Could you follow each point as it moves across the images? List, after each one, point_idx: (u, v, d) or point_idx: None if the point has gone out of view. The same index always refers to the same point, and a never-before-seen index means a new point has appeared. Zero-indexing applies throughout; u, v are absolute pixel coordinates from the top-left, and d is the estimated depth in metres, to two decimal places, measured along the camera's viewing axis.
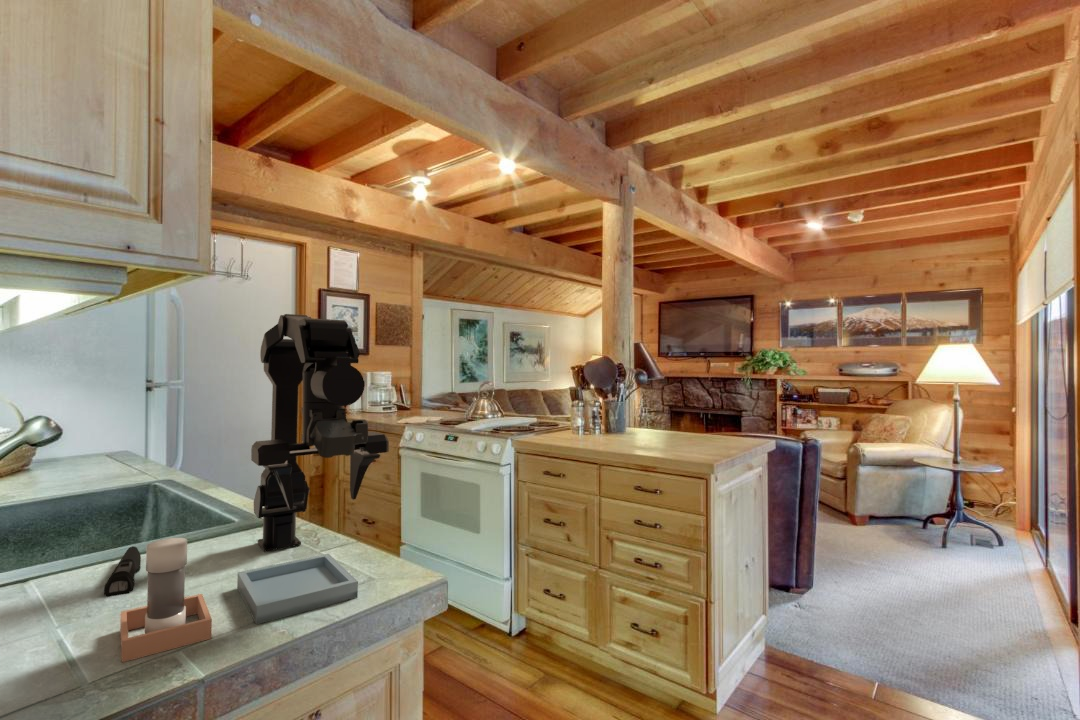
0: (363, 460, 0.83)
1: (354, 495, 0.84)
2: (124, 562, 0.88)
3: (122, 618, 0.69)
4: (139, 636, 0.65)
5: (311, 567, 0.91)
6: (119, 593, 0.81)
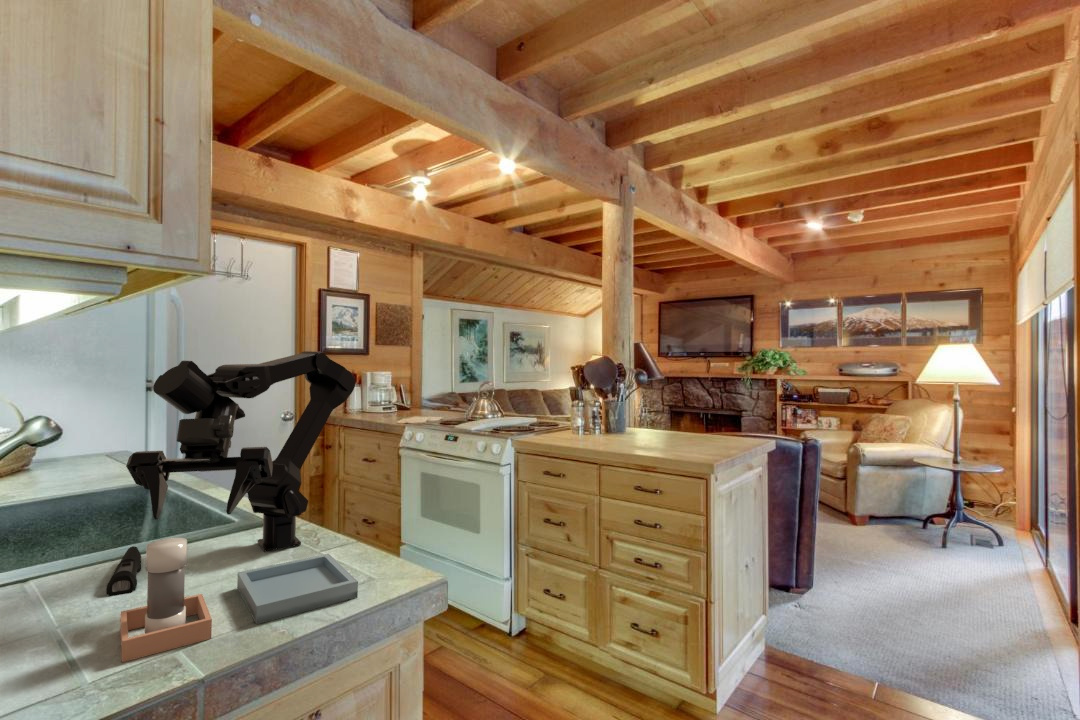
0: (237, 466, 0.82)
1: (228, 506, 0.80)
2: (125, 562, 0.88)
3: (122, 618, 0.69)
4: (139, 636, 0.65)
5: (311, 567, 0.91)
6: (122, 592, 0.82)
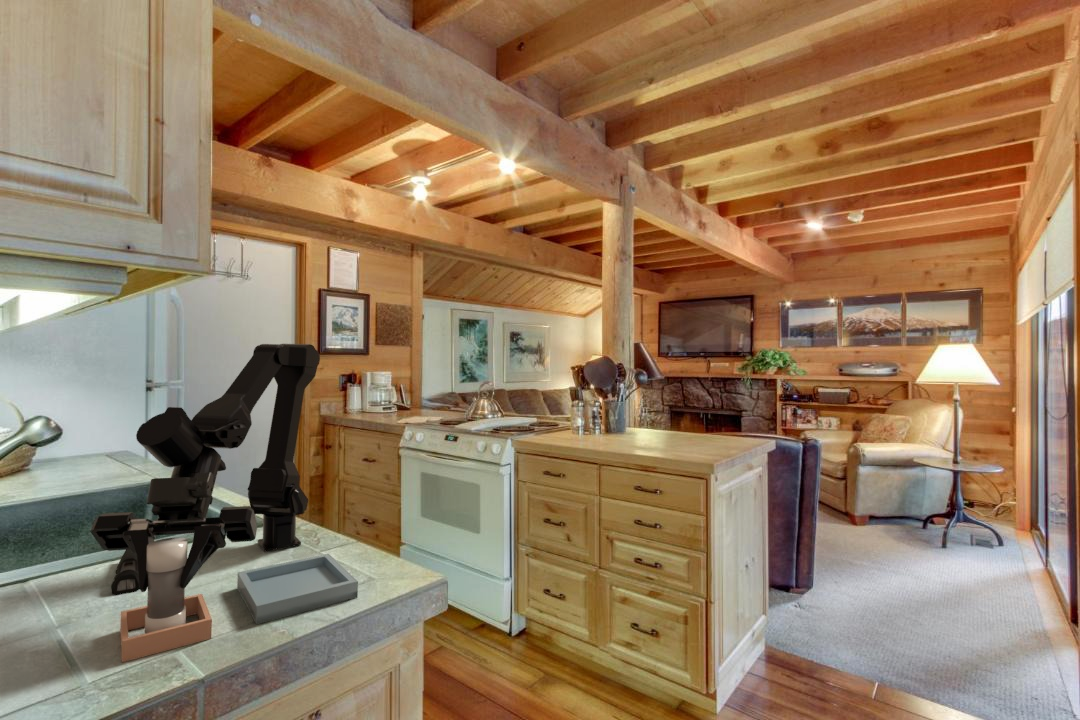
0: (195, 531, 0.73)
1: (182, 579, 0.70)
2: (127, 561, 0.88)
3: (122, 618, 0.69)
4: (139, 636, 0.65)
5: (311, 567, 0.91)
6: (127, 591, 0.82)
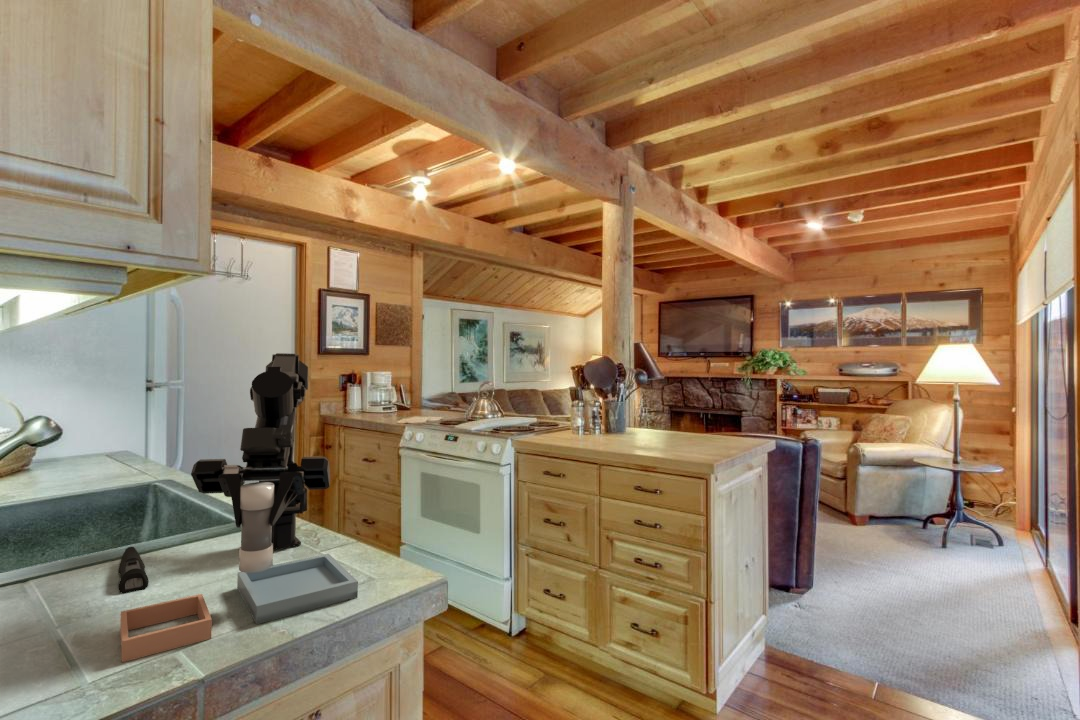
0: (281, 476, 0.81)
1: (271, 518, 0.78)
2: (130, 561, 0.88)
3: (122, 618, 0.69)
4: (139, 636, 0.65)
5: (311, 567, 0.91)
6: (135, 590, 0.83)
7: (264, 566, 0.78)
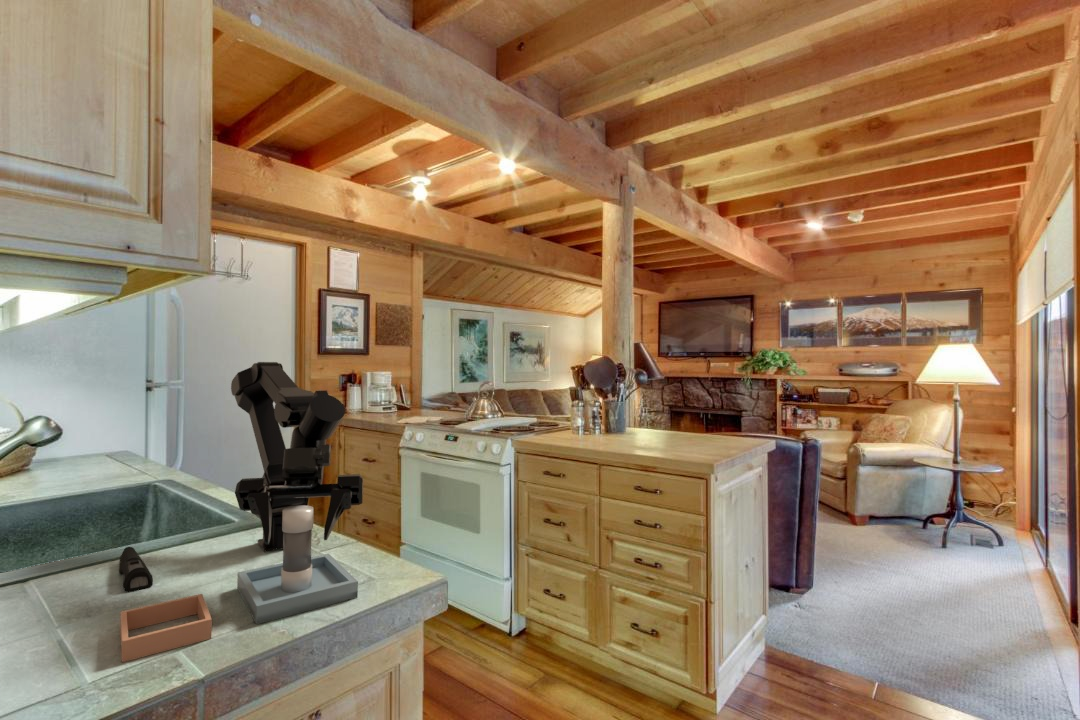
0: (332, 493, 0.86)
1: (325, 532, 0.83)
2: (132, 560, 0.88)
3: (122, 618, 0.69)
4: (139, 636, 0.65)
5: None
6: (140, 588, 0.83)
7: (305, 586, 0.82)
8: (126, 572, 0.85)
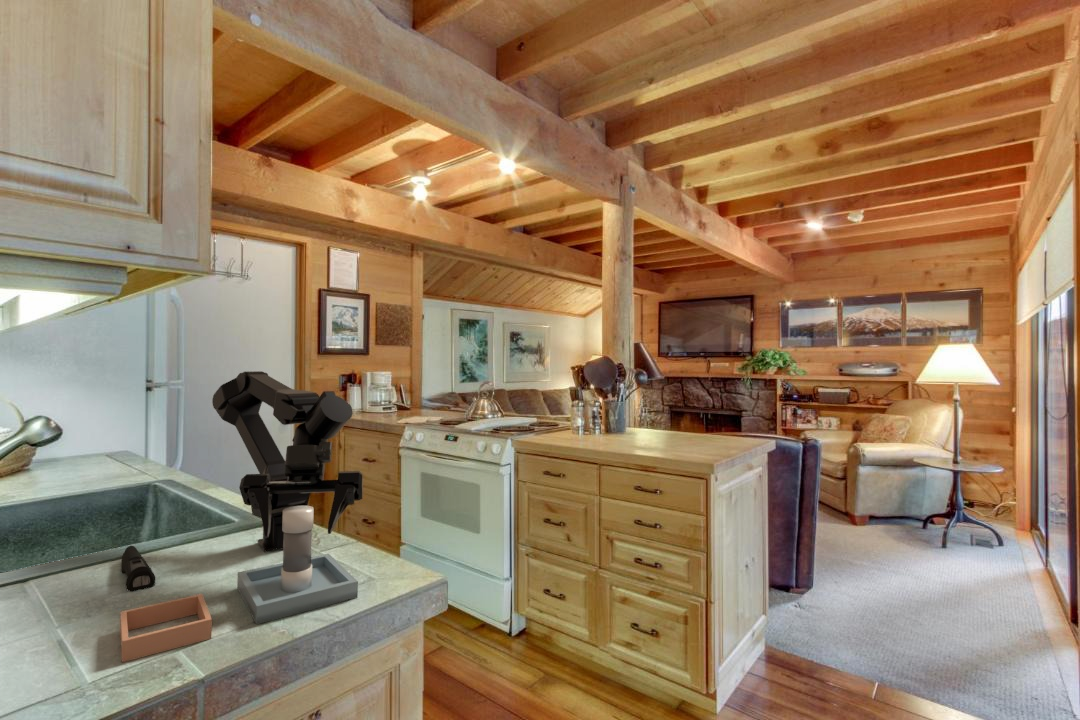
0: (336, 489, 0.89)
1: (329, 526, 0.87)
2: (134, 559, 0.89)
3: (122, 618, 0.69)
4: (139, 636, 0.65)
5: None
6: (143, 587, 0.83)
7: (305, 586, 0.82)
8: (128, 571, 0.85)
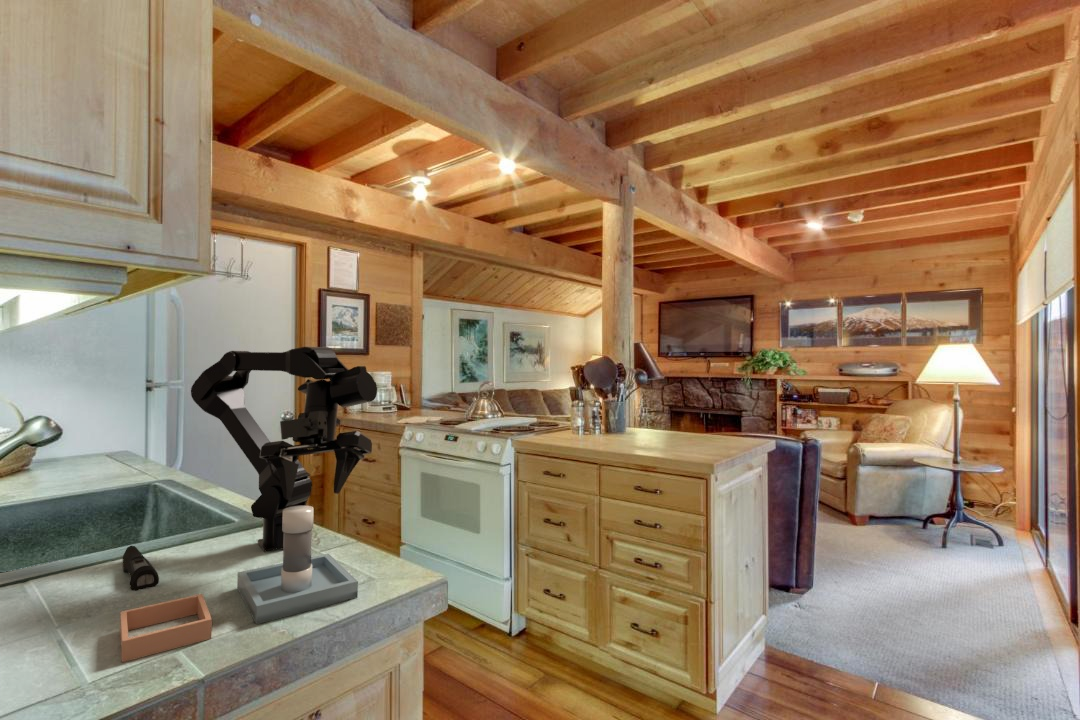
0: (335, 453, 0.93)
1: (334, 488, 0.92)
2: (136, 559, 0.89)
3: (122, 618, 0.69)
4: (139, 636, 0.65)
5: None
6: (147, 586, 0.84)
7: (305, 586, 0.82)
8: (132, 570, 0.85)
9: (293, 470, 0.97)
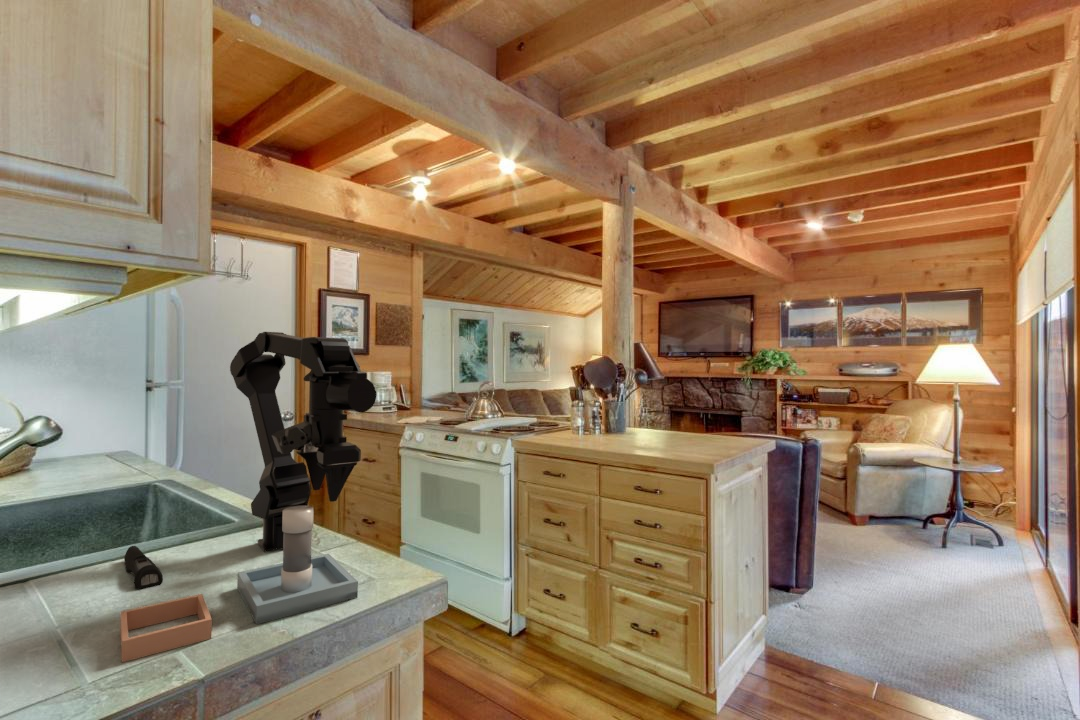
0: (319, 466, 0.90)
1: (329, 497, 0.92)
2: (139, 559, 0.89)
3: (122, 618, 0.69)
4: (139, 636, 0.65)
5: None
6: (151, 585, 0.84)
7: (305, 586, 0.82)
8: (136, 570, 0.86)
9: None
